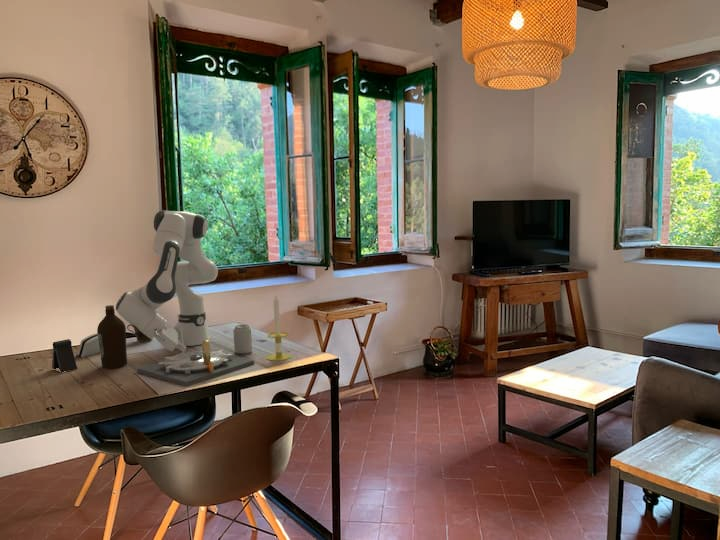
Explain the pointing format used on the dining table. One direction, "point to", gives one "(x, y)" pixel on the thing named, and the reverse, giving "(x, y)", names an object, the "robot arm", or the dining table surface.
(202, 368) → the sprocket
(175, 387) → the dining table surface
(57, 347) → the door stopper
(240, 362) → the index plate
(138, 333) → the ceramic cup
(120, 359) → the olive oil
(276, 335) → the candle
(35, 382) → the dining table surface
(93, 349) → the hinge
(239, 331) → the can
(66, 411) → the dining table surface
